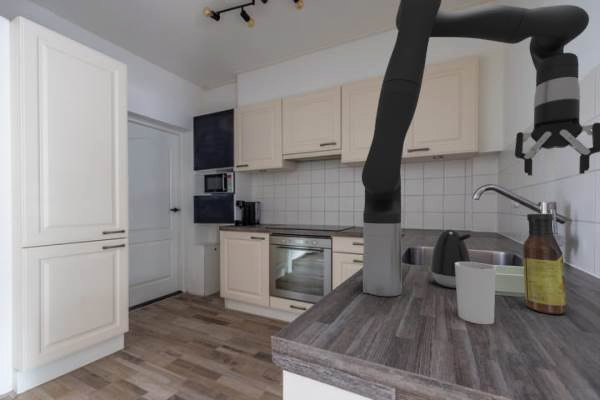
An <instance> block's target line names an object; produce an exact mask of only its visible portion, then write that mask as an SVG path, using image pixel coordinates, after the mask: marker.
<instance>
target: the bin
mask: <svg viewBox="0 0 600 400" xmlns="http://www.w3.org/2000/svg"><path fill="white" fill-rule="evenodd" d="M492 265H493V266H495V267H496V274H495V296H502V297H504V296H505V297H506V296H507V297H518V298H525V284H524V267H523V266H520V265H518V266H516V265H502V264H501V265H499V264H496V265H495V264H492Z"/></svg>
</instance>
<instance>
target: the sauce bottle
mask: <svg viewBox="0 0 600 400" xmlns="http://www.w3.org/2000/svg"><path fill="white" fill-rule="evenodd" d="M526 219H527V221H528V236H527V238H526V239H525V241H524V242H523V245H522V248H523V249H522V251H523V257H522V263H523V266H522V267H524V284H525V297H524V298H525V300H526V301H525V304H526V306H527V307H528V308H529V309H530V310H534V311H536V312H539V313H544V314H551V315H562V314H564V313H565V312H566V305H567V302H566V288H565V287H566V285H565V272H564V271H565V269H564V254H563V251H562V249H561V248H560V245H559V244H558V242H557V240H556V238H555V235H554V230H553V220H554V215H553V213H527V215H526Z"/></svg>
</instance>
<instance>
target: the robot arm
mask: <svg viewBox="0 0 600 400" xmlns="http://www.w3.org/2000/svg"><path fill="white" fill-rule="evenodd" d="M441 4H442V0H400V1H399V5H398V9H397V13H396V17H395V27H396V29H397V36H396V40H395V44H394V47H393V50H392V52H391V55H390V57H389V61H388V63H387V65H386V70H385V72H384V76H383V79H382V84H381V88H380V93H379V98H378V103H377V108H376V115H375V122H374V130H373V131H374V132H373V136H372V141H371V144H370V147H369V151H368V154H367V157H366V159H365V162H364V165H363V168H362V171H361V181H362V182H361V183H362V185H363V187H364V208H363V213H362V216H363V217H362V218H363V219H362V221H363V224H362V225H363V228H362V229H363V232H362V233H363V240H362V241H363V245H362V246H363V254H362V292H363V293H366V294H370V295H373V296H379V297H397V296H400V295H401V294H403V293H402V292H403V280H402V279H403V274H402V273H403V267H402V264H403V263H402V261H403V259H402V258H403V257H402V255H403V254H402V253H403V252H402V250H403V249H402V247H403V246H402V177H401V176H402V175H401V167H402V160H403V159H402V157H403V149H404V145H405V144H404V143H405V140H406V137H407V134H408V132H409V129H410V127H411V124H412V122H413V120H414V116H415V112H416V110H417V107H418V103H419V98H420V94H421V89H422V84H423V78H424V73H425V68H426V67H425V66H426V61H427V53H428V47H429V41H430V38H463V39H477V40H478V39H479V40H483V41H484V40H485V41H490V42H498V43H504V44H511V45H513V44H519V43H521V42H523V41H524V40H527V39H528V38H530V42H529V54H530V57H531V60H532V64H533V66H534V68H535V71H536V75H535V93H534V97H533V98H534V99H533V101H534V104H533V108H534V109H533V130H532V131H531V132H522V131H518V132H517V133H516V138H515V147H514V149H515V150H514V156H515V158H516V159H520V160H523V161H524V162H523V163H524V167H523V168H524V169H523V171H524V173H525V174H527V176H528V177H529V176H530V177H531V176H533V157H535V156H536V154H538V153H539V152H540V151H541V150H542V149H545V150H551V149H555V148H557V149H564V148H567V147H568V146H570V148H571V149H573V150H574V151H576V152H577V153H578V154H579V155H580V156H579V165H578V166H579V171H578V172H579V174H580V175H584V174H585V173H586V172H587V171H589V170H590V156H592V155H594V154H598V153H600V122H595V123H593V124H588V125H583V126H582V125H581V122H580V111H581V109H580V107H581V106H580V103H581V102H580V100H581V89H580V88H581V87H580V82H579V57H578V55H576V53H573V52H564V48H565V47H566V46H567V45H568V44H569V43H571V42H572V41H574V40H575V39H576V38H577V37H578V36H580V35H581V34H582V33H584V32H585V30H586V29H587V27H588V25H589V23H590V16H589V14H588V12H587V11H586V10H585V8H582V7H580V6H577V5H573V4H561V5H551V6H541V7H534V8H527V7H519V6H515V5H514V6H512V5H505V4H504V5H503V4H494V5H486V6H479V7H476V8H471V9H466V10H459V11H448V10H442V9H441V8H440V7H441ZM582 132H586V135H587V136H591V139H592V140H591V141H592V147H589V148H587V146H585V145H584V144H583V143H582V142H581V141H580V140H579V139H577V138H578V137H579V136H580V134H581V133H582ZM530 138H531V139H532V140H533V141H534V142H535V144H533V145H532V146H531V148H530V149H529V150H528V152H526V153H524V150H523V149H524V143H527V141H529V139H530Z"/></svg>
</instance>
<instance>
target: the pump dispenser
mask: <svg viewBox="0 0 600 400" xmlns="http://www.w3.org/2000/svg"><path fill="white" fill-rule="evenodd" d="M470 238H472V235H471V234H470V233H466V234H462V235H461V233H460V232H458V231H457V230H455V229H451V228H450V229H444V230H443V231H442V232H440V234H439V235H438V237H437V238H436V241H435V243H434V246H433V249H432V253H431V256H430V257H431V259H430V263H429V265H430V266H429V267H430V268H429V270H430V272H431V275H432V278H433V279H434V280H435V282H436V283H437V284H439V285H441V286H443V287H446V288H453V289H456V274H455V263H456V262H473V261H472V258H471V257H472V256H471V253H470V250H469V248H468V245H467V242H466V241H465V240H467V239H470Z"/></svg>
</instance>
